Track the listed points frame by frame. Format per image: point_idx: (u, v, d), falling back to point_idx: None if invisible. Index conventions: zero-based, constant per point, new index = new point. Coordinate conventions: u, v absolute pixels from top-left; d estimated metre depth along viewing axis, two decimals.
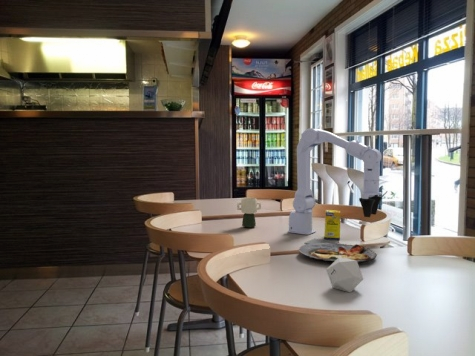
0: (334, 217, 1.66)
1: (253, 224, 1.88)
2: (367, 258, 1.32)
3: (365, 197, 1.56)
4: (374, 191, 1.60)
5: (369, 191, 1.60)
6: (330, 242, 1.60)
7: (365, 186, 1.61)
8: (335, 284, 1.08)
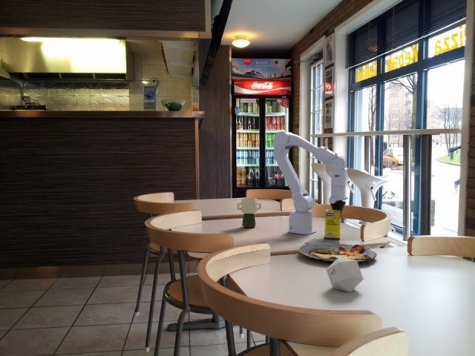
0: (334, 217, 1.65)
1: (253, 224, 1.88)
2: (367, 258, 1.32)
3: (331, 202, 1.66)
4: (340, 196, 1.69)
5: (336, 196, 1.69)
6: (330, 242, 1.60)
7: (332, 191, 1.71)
8: (335, 284, 1.08)
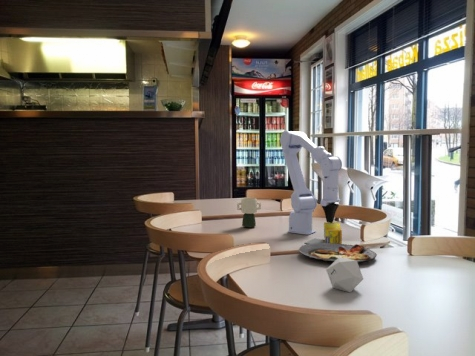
0: None
1: (253, 224, 1.88)
2: (367, 258, 1.32)
3: (323, 204, 1.60)
4: (333, 198, 1.63)
5: (328, 198, 1.63)
6: None
7: (324, 193, 1.64)
8: (335, 284, 1.08)
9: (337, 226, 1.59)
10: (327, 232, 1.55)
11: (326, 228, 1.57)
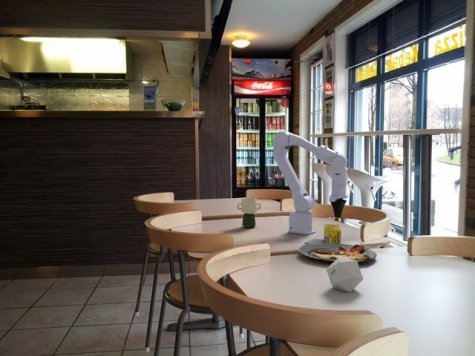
0: None
1: (253, 224, 1.88)
2: (367, 258, 1.32)
3: (331, 200, 1.66)
4: (341, 194, 1.69)
5: (336, 194, 1.70)
6: None
7: (332, 189, 1.71)
8: (335, 284, 1.08)
9: (337, 227, 1.59)
10: (326, 232, 1.55)
11: (325, 228, 1.57)
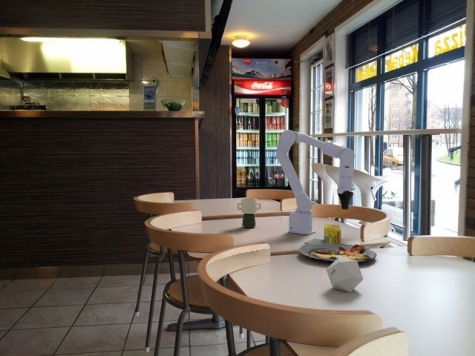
0: None
1: (253, 224, 1.88)
2: (367, 258, 1.32)
3: (339, 192, 1.70)
4: (348, 186, 1.73)
5: (343, 186, 1.74)
6: None
7: (340, 182, 1.75)
8: (335, 284, 1.08)
9: (337, 227, 1.59)
10: (326, 232, 1.55)
11: (325, 228, 1.57)
